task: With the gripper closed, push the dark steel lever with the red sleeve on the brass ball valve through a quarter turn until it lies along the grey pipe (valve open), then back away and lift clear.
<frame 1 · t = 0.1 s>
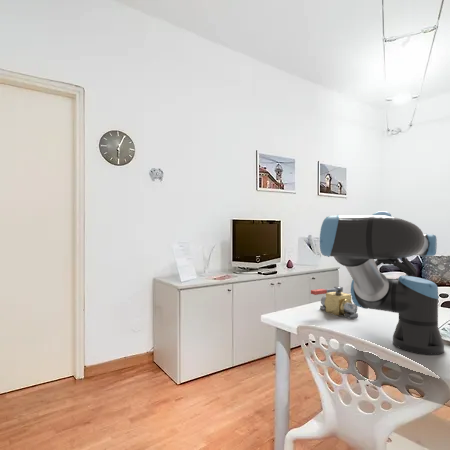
hand: (390, 283, 144), 16 cm above the table, tool tilted 35°, fingers open, 13 cm apart
valve: (338, 312, 154), on the table
lever: (327, 290, 151), point 11 cm above the table, hinge at 0.0°
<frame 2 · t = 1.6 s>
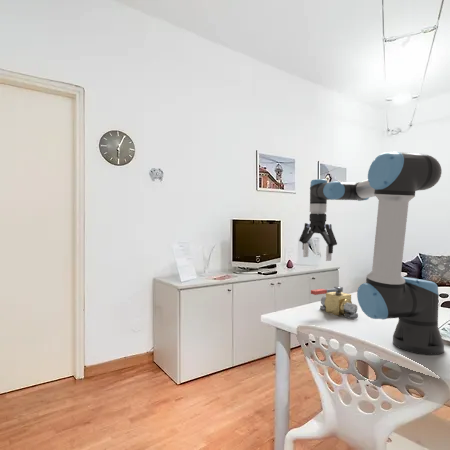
hand: (316, 258, 153), 26 cm above the table, tool pointing down, fingers open, 13 cm apart
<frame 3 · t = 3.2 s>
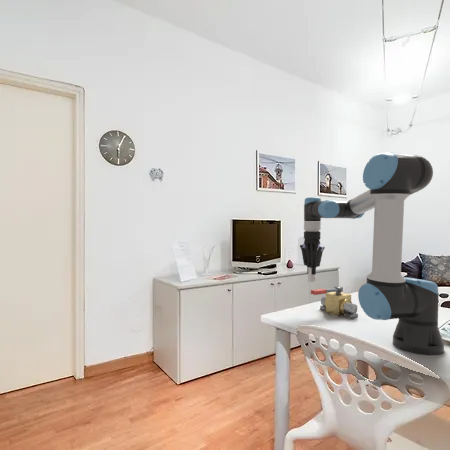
hand: (311, 281, 153), 15 cm above the table, tool pointing down, fingers closed
nothing on the table moved.
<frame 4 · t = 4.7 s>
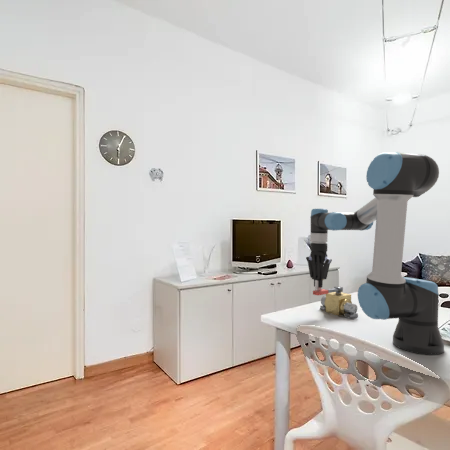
hand: (318, 294, 149), 10 cm above the table, tool pointing down, fingers closed
lever: (328, 290, 150), point 11 cm above the table, hinge at 5.1°, touching gripper
everything else where it was.
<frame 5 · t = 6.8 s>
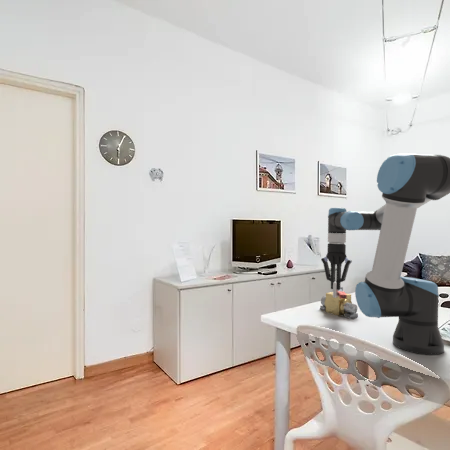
hand: (335, 296, 144), 10 cm above the table, tool pointing down, fingers closed
lever: (340, 292, 147), point 11 cm above the table, hinge at 49.0°, touching gripper
everything else where it was.
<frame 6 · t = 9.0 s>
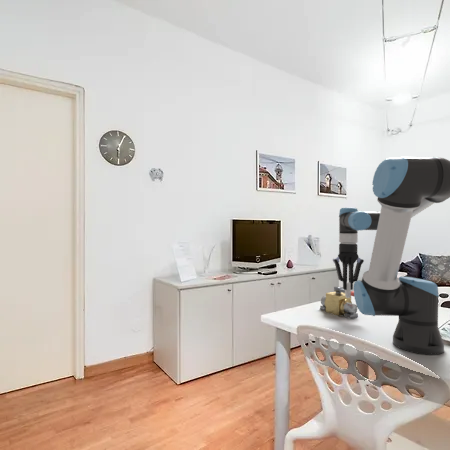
hand: (347, 297, 143), 10 cm above the table, tool pointing down, fingers closed
lever: (348, 292, 147), point 11 cm above the table, hinge at 81.6°
everything else where it was.
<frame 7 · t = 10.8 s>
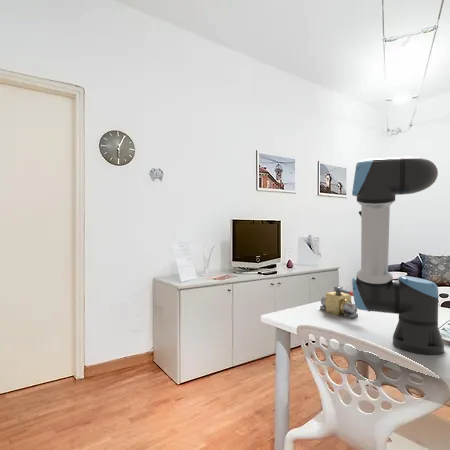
hand: (373, 247, 151), 31 cm above the table, tool pointing down, fingers closed
nothing on the table moved.
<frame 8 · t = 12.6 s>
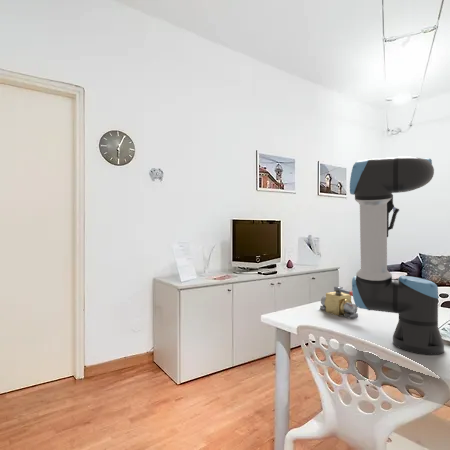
hand: (383, 244, 154), 32 cm above the table, tool pointing down, fingers closed
nothing on the table moved.
at the end: lever at +82° (first picture: +0°); lever touching nothing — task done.
